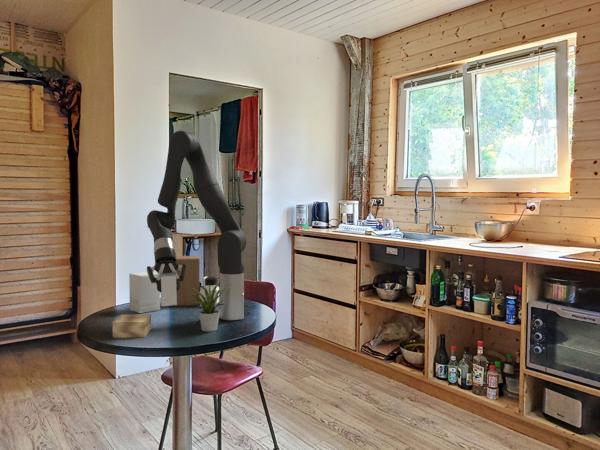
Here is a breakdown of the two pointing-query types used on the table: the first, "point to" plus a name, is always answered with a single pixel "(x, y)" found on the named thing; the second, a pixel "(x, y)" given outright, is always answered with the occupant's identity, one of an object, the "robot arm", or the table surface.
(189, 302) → the wooden block
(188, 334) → the table surface
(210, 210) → the robot arm
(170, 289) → the tea tin
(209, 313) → the house plant
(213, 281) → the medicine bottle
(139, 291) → the supplement box
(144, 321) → the oak stand
